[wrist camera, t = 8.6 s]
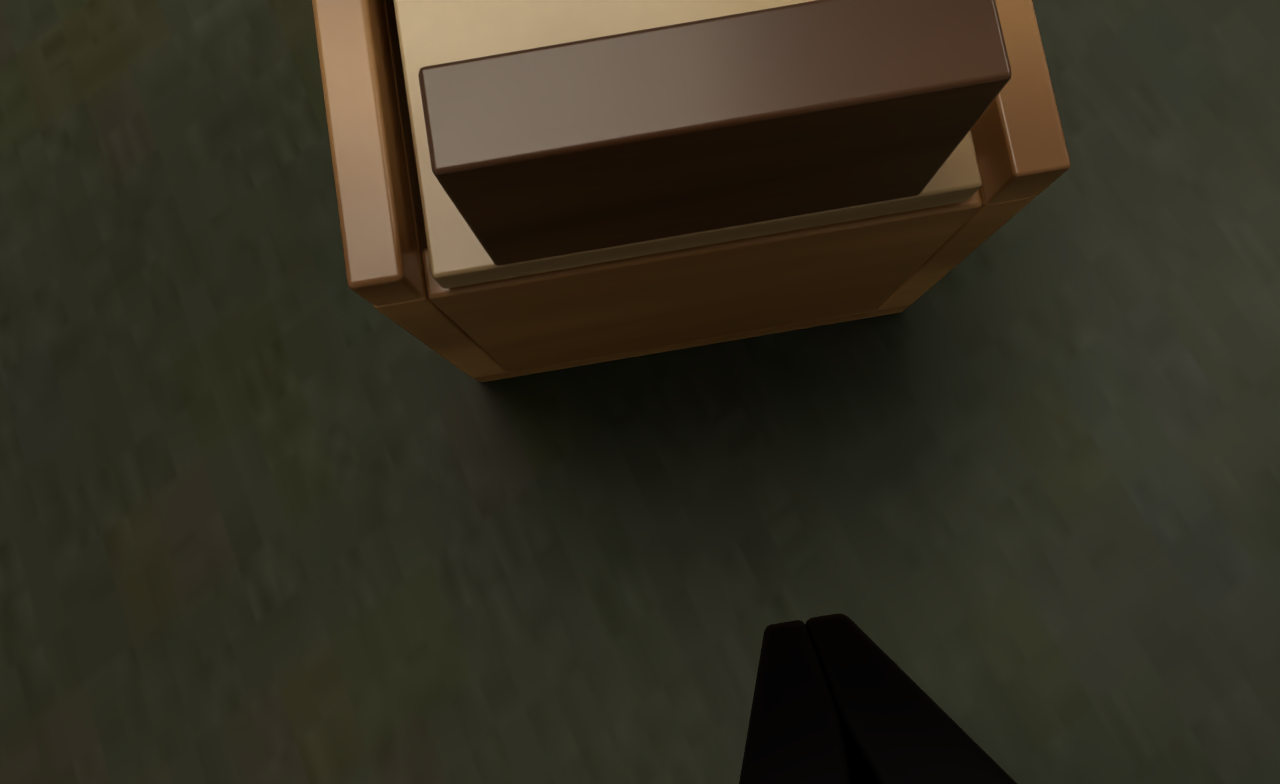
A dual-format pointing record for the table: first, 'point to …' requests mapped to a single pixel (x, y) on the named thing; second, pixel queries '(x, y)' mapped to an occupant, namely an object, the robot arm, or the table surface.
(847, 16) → the lid
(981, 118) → the box
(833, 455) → the table surface
